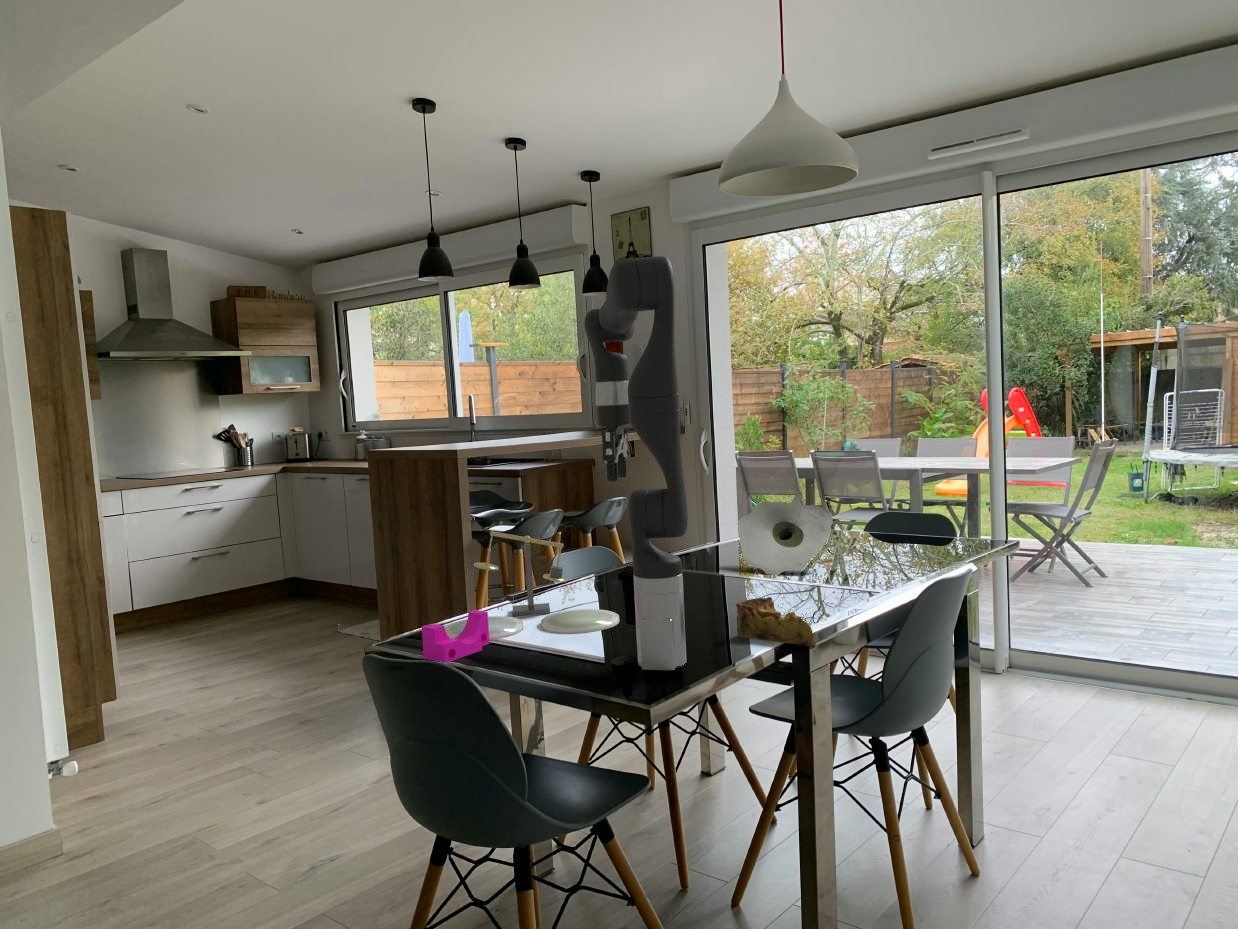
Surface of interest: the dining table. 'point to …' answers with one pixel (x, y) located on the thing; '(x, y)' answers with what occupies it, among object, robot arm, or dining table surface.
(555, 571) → the balance beam
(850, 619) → the dining table surface
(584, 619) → the sage dish
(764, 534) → the flower planter
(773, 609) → the pie slice
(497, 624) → the grey dish
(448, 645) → the toy block
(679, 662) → the robot arm
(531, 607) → the balance stand
